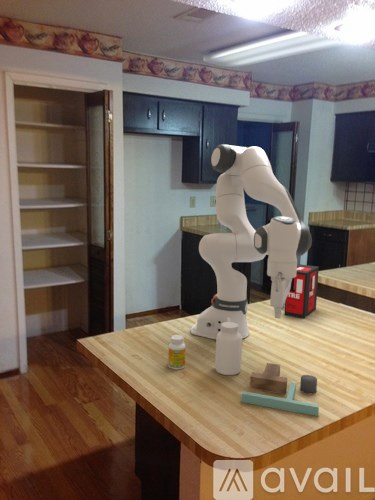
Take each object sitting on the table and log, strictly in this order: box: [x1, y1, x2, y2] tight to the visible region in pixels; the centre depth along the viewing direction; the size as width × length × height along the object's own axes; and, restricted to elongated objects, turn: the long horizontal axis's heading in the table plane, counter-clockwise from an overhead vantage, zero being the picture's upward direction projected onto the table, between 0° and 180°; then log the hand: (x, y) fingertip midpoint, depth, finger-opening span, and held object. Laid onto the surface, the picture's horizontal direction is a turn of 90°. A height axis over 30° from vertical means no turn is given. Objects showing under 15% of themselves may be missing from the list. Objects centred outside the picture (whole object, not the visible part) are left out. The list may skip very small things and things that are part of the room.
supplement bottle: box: [167, 334, 187, 370], centre depth 139 cm, size 5×5×10 cm
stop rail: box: [240, 382, 320, 417], centre depth 120 cm, size 20×12×2 cm, turn 71°
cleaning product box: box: [283, 263, 320, 320], centre depth 196 cm, size 16×9×20 cm, turn 147°
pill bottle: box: [214, 322, 243, 376], centre depth 136 cm, size 8×8×15 cm
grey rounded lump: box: [299, 374, 318, 394], centre depth 125 cm, size 4×4×4 cm
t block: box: [249, 362, 288, 395], centre depth 129 cm, size 10×11×4 cm
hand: (279, 313), depth 137 cm, fingers open, 8 cm apart
